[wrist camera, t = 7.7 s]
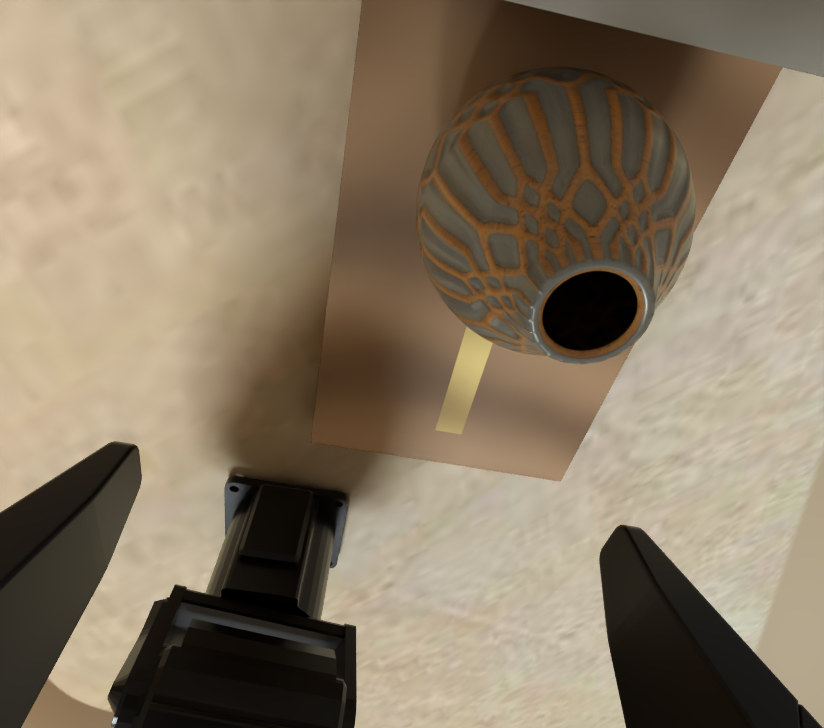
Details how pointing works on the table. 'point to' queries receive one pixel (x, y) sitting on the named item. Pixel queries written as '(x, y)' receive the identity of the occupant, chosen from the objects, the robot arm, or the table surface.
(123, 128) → the table surface
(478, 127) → the vase
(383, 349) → the wooden board with block
